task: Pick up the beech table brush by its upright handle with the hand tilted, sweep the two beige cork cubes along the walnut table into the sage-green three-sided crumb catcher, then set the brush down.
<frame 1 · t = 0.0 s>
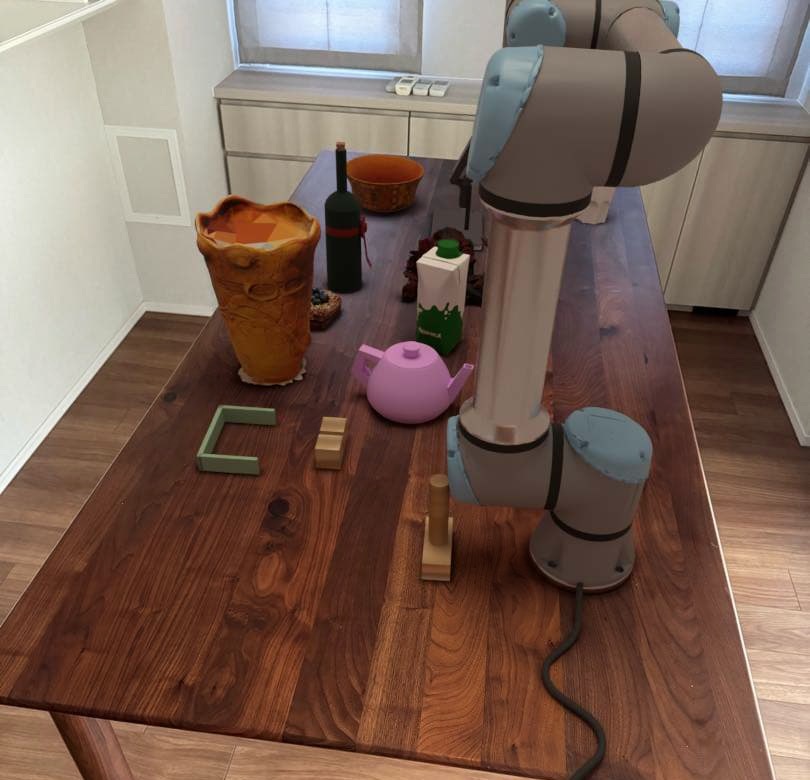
hand: (506, 229, 134), 28 cm above the table, tool pointing down, fingers open, 13 cm apart
notebook: (456, 232, 201), on the table
teapot: (410, 404, 145), on the table
flower arrangement: (474, 296, 176), on the table
catcher: (238, 445, 135), on the table
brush: (437, 555, 117), on the table, touching arm
pastry: (312, 317, 168), on the table
vase: (271, 374, 151), on the table
cup: (590, 218, 210), on the table
cube b: (334, 443, 136), on the table
cube a: (329, 461, 132), on the table
wine bottle: (349, 286, 178), on the table
bowl: (383, 207, 212), on the table
soya milk: (437, 344, 161), on the table
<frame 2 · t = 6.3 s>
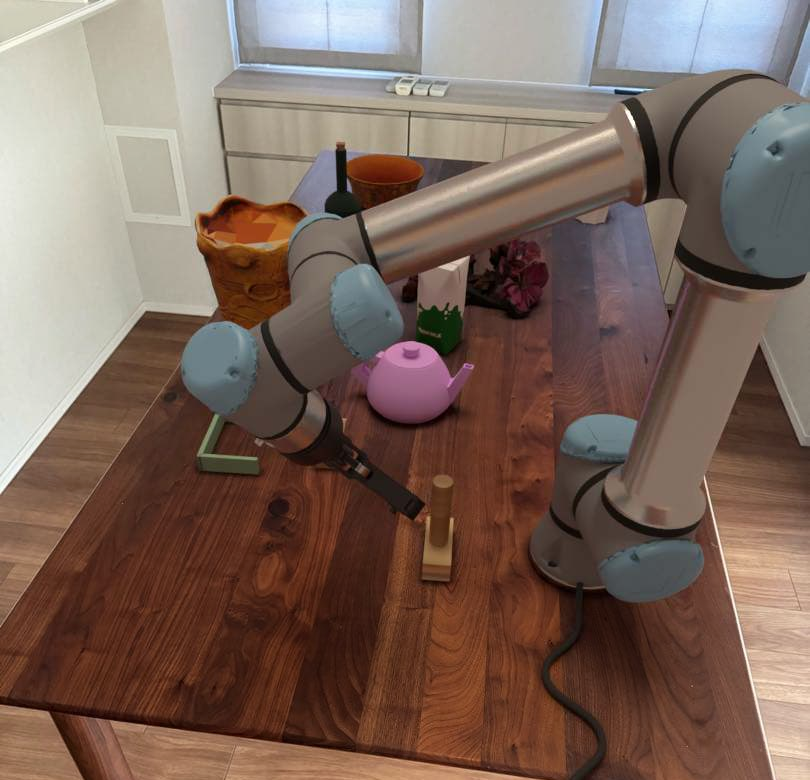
hand: (379, 483, 102), 17 cm above the table, tool tilted 40°, fingers open, 13 cm apart
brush: (437, 556, 117), on the table
everything else where it was.
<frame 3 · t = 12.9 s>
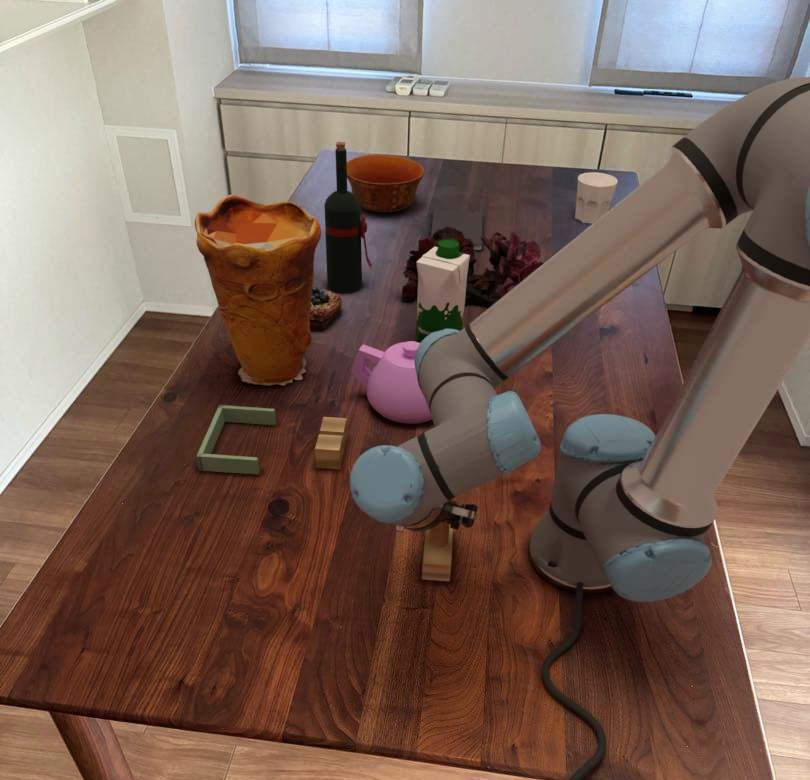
hand: (447, 514, 116), 5 cm above the table, tool tilted 45°, fingers closed on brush, 3 cm apart
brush: (437, 556, 117), on the table, touching gripper
everything else where it was.
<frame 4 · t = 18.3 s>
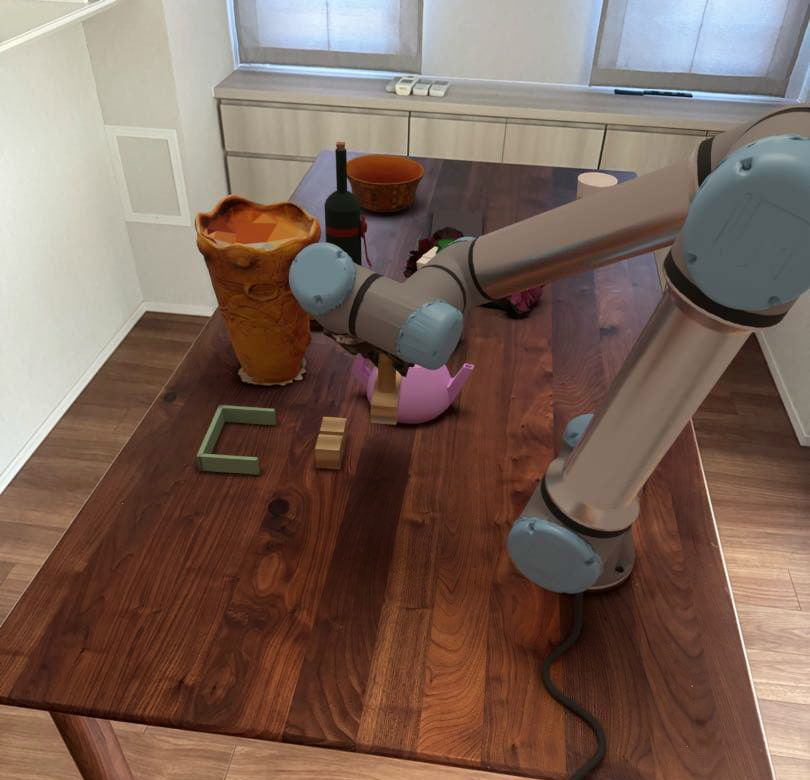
hand: (395, 366, 124), 16 cm above the table, tool tilted 45°, fingers closed on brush, 3 cm apart
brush: (386, 405, 125), point 11 cm above the table, touching gripper
everything else where it was.
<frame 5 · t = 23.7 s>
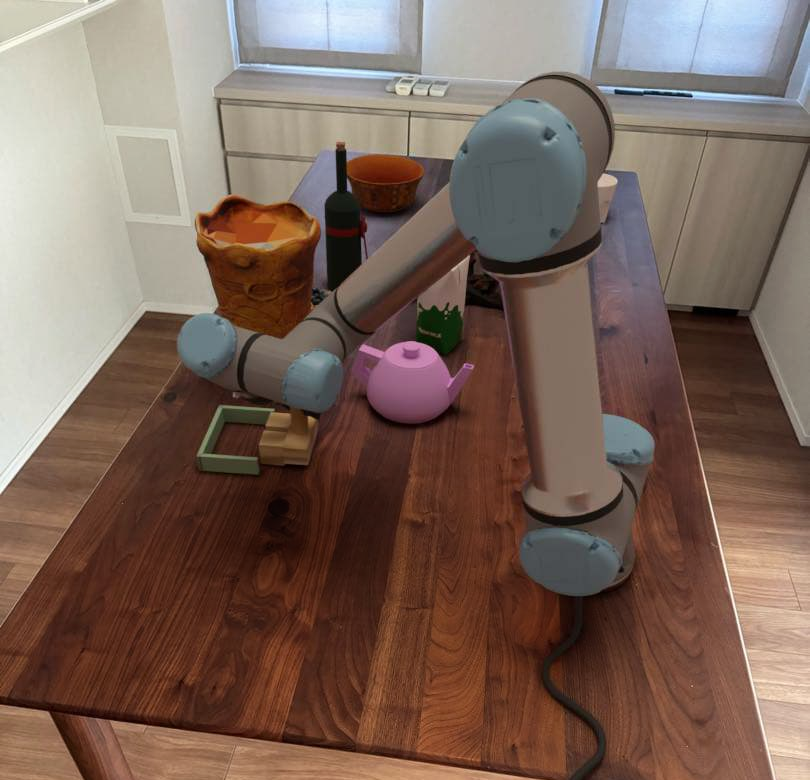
hand: (309, 409, 133), 6 cm above the table, tool tilted 45°, fingers closed on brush, 3 cm apart
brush: (301, 446, 134), point 1 cm above the table, touching gripper
cube b: (281, 438, 136), on the table
cube a: (275, 457, 133), on the table
everything else where it was.
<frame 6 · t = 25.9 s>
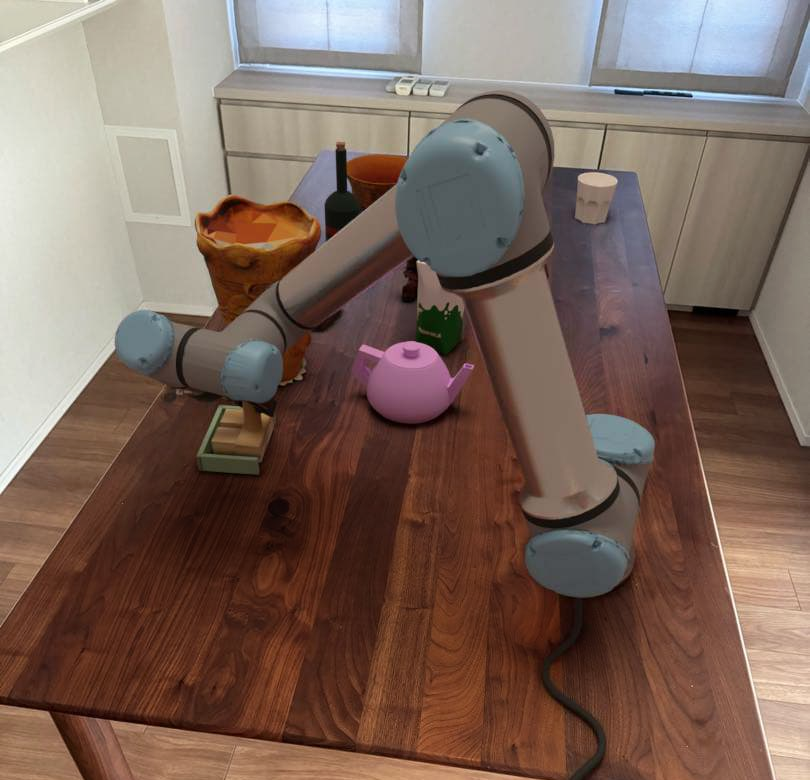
hand: (263, 407, 133), 6 cm above the table, tool tilted 45°, fingers closed on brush, 3 cm apart
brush: (256, 443, 134), point 1 cm above the table, touching cube a, cube b, gripper
cube b: (237, 435, 137), on the table, touching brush
cube a: (229, 454, 133), on the table, touching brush
everything else where it was.
when the fingers open (5 cm above the table, at t = 34.1 s): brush stays where it is, on the table.
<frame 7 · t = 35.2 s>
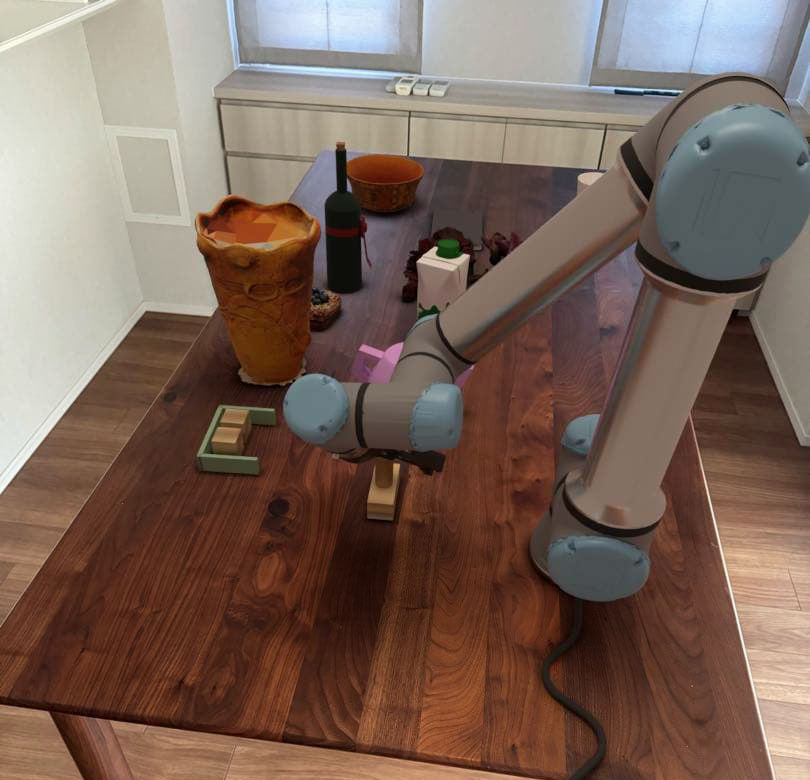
hand: (390, 456, 122), 7 cm above the table, tool tilted 45°, fingers open, 13 cm apart
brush: (383, 498, 126), on the table
cube b: (237, 435, 137), on the table
cube a: (229, 454, 133), on the table
everything else where it was.
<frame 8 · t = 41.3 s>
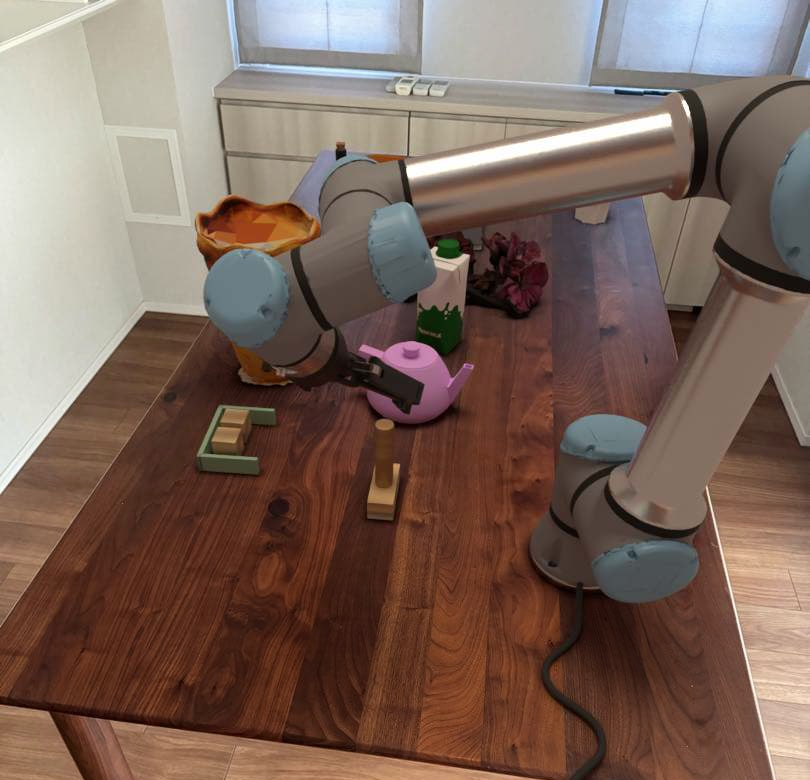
hand: (359, 392, 101), 26 cm above the table, tool tilted 45°, fingers open, 13 cm apart
nothing on the table moved.
at the end: cube a inside the target area on the catcher (2.7 cm from its centre), point 0.0 cm above the catcher's base; cube b inside the target area on the catcher (3.2 cm from its centre), point 0.0 cm above the catcher's base; the gripper is holding nothing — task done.
